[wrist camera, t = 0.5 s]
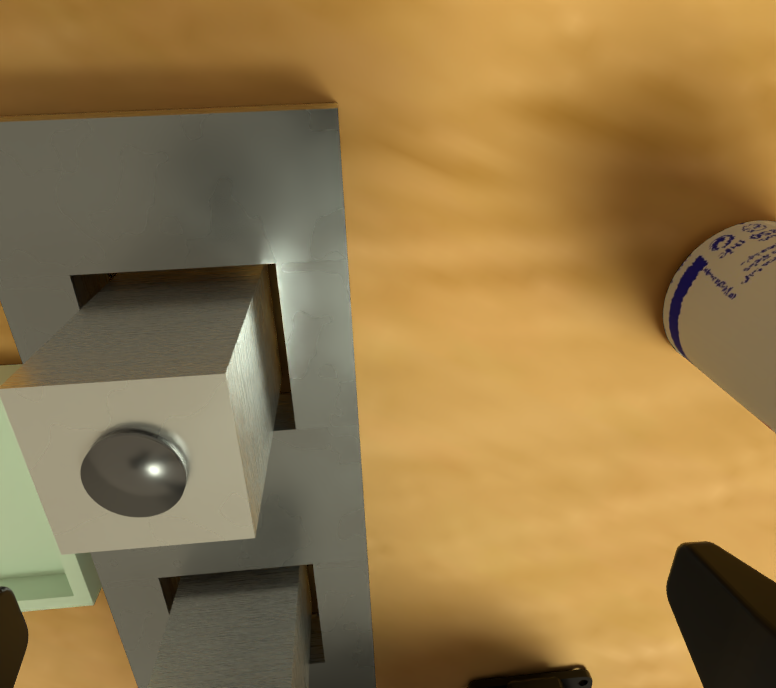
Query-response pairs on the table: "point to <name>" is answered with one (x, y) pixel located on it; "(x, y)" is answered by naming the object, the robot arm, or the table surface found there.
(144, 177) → the grey socket board
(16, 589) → the tray
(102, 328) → the nut
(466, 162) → the table surface
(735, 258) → the beverage can
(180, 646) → the nut
